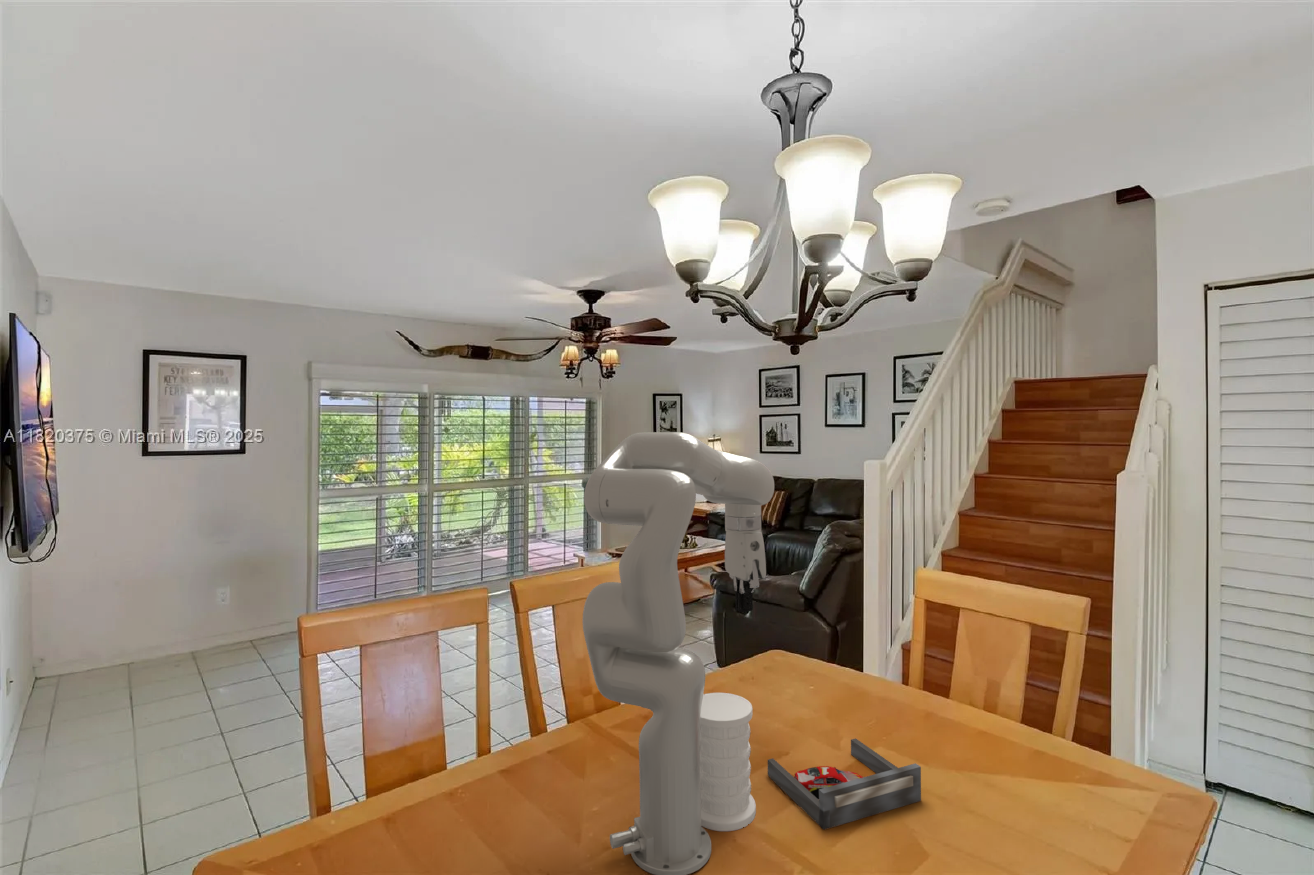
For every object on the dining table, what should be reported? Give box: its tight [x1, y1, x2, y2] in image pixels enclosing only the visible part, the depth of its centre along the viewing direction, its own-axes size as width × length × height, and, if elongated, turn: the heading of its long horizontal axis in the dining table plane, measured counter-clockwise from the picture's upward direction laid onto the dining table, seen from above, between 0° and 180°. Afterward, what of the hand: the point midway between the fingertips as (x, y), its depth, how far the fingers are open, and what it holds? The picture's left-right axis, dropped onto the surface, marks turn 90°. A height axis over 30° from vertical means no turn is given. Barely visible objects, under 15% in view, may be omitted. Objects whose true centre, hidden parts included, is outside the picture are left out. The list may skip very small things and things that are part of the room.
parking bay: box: [767, 738, 922, 830], centre depth 113 cm, size 20×18×6 cm
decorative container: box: [700, 692, 757, 832], centre depth 107 cm, size 12×12×18 cm
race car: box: [793, 765, 864, 800], centre depth 112 cm, size 13×5×4 cm, turn 90°
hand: (744, 610), depth 131 cm, fingers closed
